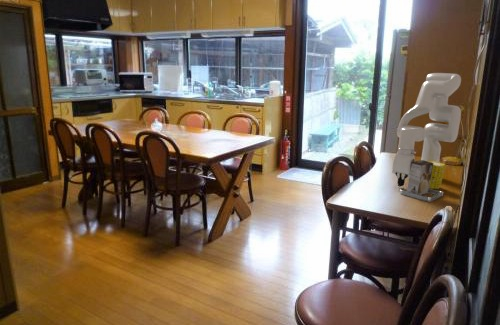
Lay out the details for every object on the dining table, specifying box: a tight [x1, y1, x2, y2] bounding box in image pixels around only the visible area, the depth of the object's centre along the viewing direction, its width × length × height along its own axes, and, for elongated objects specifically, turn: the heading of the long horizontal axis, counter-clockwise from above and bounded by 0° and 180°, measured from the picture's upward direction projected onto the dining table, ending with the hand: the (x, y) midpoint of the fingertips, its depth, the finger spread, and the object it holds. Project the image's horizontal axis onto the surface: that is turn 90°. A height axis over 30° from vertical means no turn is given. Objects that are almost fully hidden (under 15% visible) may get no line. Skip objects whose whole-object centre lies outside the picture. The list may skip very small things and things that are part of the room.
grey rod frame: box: [399, 188, 444, 203], centre depth 185 cm, size 15×15×2 cm
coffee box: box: [406, 160, 434, 195], centre depth 186 cm, size 9×6×16 cm
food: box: [427, 161, 446, 190], centre depth 196 cm, size 15×12×10 cm
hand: (400, 185), depth 195 cm, fingers closed
